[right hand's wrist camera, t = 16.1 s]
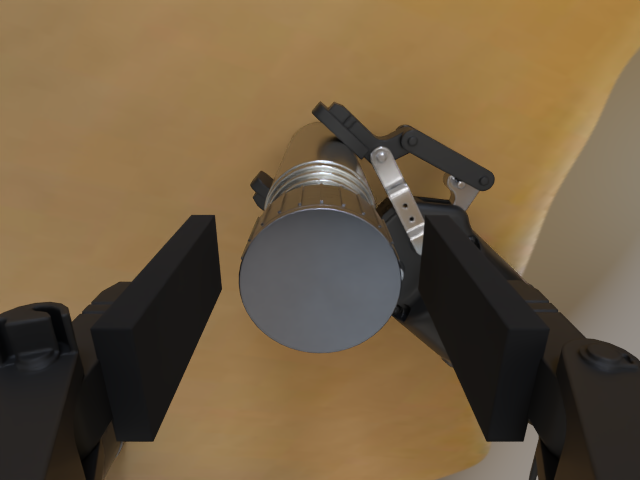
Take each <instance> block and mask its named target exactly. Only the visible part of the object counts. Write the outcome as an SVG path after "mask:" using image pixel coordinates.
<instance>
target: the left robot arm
mask: <svg viewBox="0 0 640 480" xmlns="http://www.w3.org/2000/svg"><path fill="white" fill-rule="evenodd" d="M312 113H313V115H314V116H315V117H316V118H317V119H318V120H319V121H321V122H322V123H323V124H324V125H325V126H326V127H327V128H328V129H329V130H330V131H331V132H332V133H333V134H334V135H335V136H337V137H338V138H339V139H340V140H341V141H342V142H343V143H344V144H345V145H346V146H348V147H349V148H350V149H351V150H352V151H353V152H354V153H355V154H356V155H357V156H358V157H359V158H360V159H361V160H362V158H363V157H364V158H366V159H367V160H368V161H369V162H370V163H371V164H372V166H373V168H374V170H375V172H376V174H377V176H378V178H379V180H380V182H381V184H382V186H383V188H384V190H385V192H386V194H387V196H388V198H389V199H388V198H386V199H385V200H384V201H383V202H382V203H381V204H380V205H379V206H378V207H377V209H376V212H377V213H378V215H379V216H380V218H381V220H382V219H383V220H384V222H385V224H386V226H387V229H388V231H389V233H390V236H391V238H392V240H393V243H394V244H393V245H394V248H395V250H396V252H397V255H398V257H399V259H400V262H399V264H400V268H401V276H402V282H401V292H400V297H399V300H398V303H397V306H396V308H395V310H394V312H393V314H392V316H393V317H394V318H395V319H396V320H397V321H399V322H400V323H401V324H402V325H403V326H405V327H406V328H407V329H408V330H410V331H411V332H412V333H413V334H414V335H416V336H417V337H418V338H419V339H420V340H422V341H423V342H424V343H425V344H426V345H428V346H429V347H430V348H431V349H432V350H434V351H435V352H436V353H437V354H438V355H440V356H441V358H442V359H443V361H445V362H446V363H447V364H448V365H449V366H450V367H453V366H452V363H451V361H450V359H449V357H448V355H447V352H446V350H445V348H444V346H443V343H442V341H441V339H440V337H439V335H438V332H437V330H436V328H435V326H434V323H433V321H432V319H431V317H430V315H429V312H428V310H427V308H426V306H425V303H424V301H423V299H422V297H421V295H420V292H419V290H418V285H419V274H420V264H421V253H422V243H423V233H424V222H425V215H449V216H450V217H451V218H452V220H453V221H454V222H455V223H456V224H457V225H458V226H459V227H460V229H461V230H462V231H463V232H464V233H465V234H466V235H467V236H468V237H469V239H470V240H471V241H472V242H473V243H474V244H475V245H476V246H477V248H478V249H479V250H480V251H481V252H482V253H483V254H484V255H485V257H486V258H487V259H488V260H489V261H490V262H491V263H492V264H493V265H494V267H495V268H496V269H497V270H498V271H499V272H500V273H501V274H502V276H503V277H504V278H505V279H506V280H521V281H523V282H524V283H526V284H528V285H530V284H529V283H527V282H526V281H525V280H524V279H523V278H522V277H521V276H520V275H519V274H518V273H517V272H515V271H514V269H513V268H512V267H511V266H509V265H508V264H507V263H506V262H505V261H504V260H503V259H502V258H501V257H500V256H499V255H498V254H497V253H496V252H495V251H494V250H493V249H492V248H491V247H490V246H489V245H488V244H487V243H486V242H485V241H484V240H483V239H482V238H480V237H479V236H478V235H477V234H476V233H475V232H474V231H473V230H472V228H471V226H470V223H469V218H468V215H467V213H466V212H465V211H466V210H467V209H468V207H469V206H470V204H471V203H472V201H473V200H474V198H475V197H476V195H477V194H478V192H479V191H486V190H488V189H490V188H491V187H492V185H493V184H494V180H495V178H494V175H493V173H492V172H490V171H489V170H487V169H485V168H483V167H482V166H480V165H478V164H477V163H475V162H473V161H471V160H470V159H468V158H466V157H464V156H463V155H461V154H459V153H457V152H455V151H454V150H452V149H450V148H448V147H447V146H445V145H443V144H441V143H439V142H438V141H436V140H434V139H432V138H431V137H429V136H427V135H425V134H423V133H422V132H420V131H418V130H416V129H415V128H413V127H411V126H409V125H401V126H399V127H398V128H397V129H396V131H394V132H392V133H390V134H388V135H386V136H383V137H378V136H375V135H373V134H372V133H371V132H370V131H369V130H368V129H367V128H366V127H365V126H364V125H363V124H362V123H361V122H360V121H358V120H357V119H356V118H355V117H354V116H353V115H352V114H351V113H350V112H349V111H348V110H347V109H346V108H345V107H344V106H343V105H341V104H338V103H336V102H333V104H332V105H331V106H330V107H329V108H327V107H326V106H325V105H324V104H323V103H322V102H321V101H320V102H319V103H318V105H317V106H316V107H315V108H314V109H313V110H312ZM408 153H411V154H413V155H415V156H417V157H419V158H421V159H422V160H424V161H426V162H428V163H430V164H431V165H433V166H435V167H437V168H439V169H441V170H442V171H444V172H446V173H445V174H444V177H443V182H444V184H445V186H447V187H448V188H449V189H450V191H451V197H450V199H449V200H444V199H435V198H426V197H417V196H412V194H411V191H410V189H409V187H408V185H407V183H406V182H405V180H404V178H403V176H402V174H401V172H400V170H399V168H398V166H397V164H396V161H395V160H396V159H398V158H400V157H402V156H404V155H406V154H408ZM272 183H273V179H272V178H271V177H270V176H269V175H268V174H266V173H265V172H263V171H260V172H259V174H258V175H257V176H256V177H255V178H254V179H253V181H252V183H251V184H250V186H251V188H252V189H253V190H254V191H255V192H256V193H255V195H254V196H253V199H254V201H255V202H256V204H257V206H258V207H260V208H261V209H262V210H263V211H264V206H265V201H266V198H267V195H268V192H269V190H270V188H271V185H272ZM530 286H532V285H530ZM532 287H533V286H532ZM528 423H530V424H531V425H532V423H531V421H530V420H528ZM101 440H102V444H103V448H104V454H105V457H104V465H103V473H102V480H104V478H105V476H106V474H107V473H108V471H109V469H110V467H111V465H112V463H113V461H114V459H115V458H116V457H117V455H118V454H119V452H120V450H121V448H122V446H123V444H124V442H117V441H116V437H115V433H114V429H113V424H112V420H111V422H110V424H109V425H108V427H107V429H106V430H105V432H104V434H103V435H102V437H101Z"/></svg>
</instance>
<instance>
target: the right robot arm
mask: <svg viewBox="0 0 640 480" xmlns="http://www.w3.org/2000/svg"><path fill="white" fill-rule="evenodd" d="M221 290H222V285H221V274H220V264H219V253H218V243H217V233H216V222H215V215H191V216H190V217H189V218H188V220H187V221H186V222H185V223H184V224H183V225H182V226H181V227H180V229H179V230H178V231H177V232H176V233H175V234H174V235H173V236H172V237H171V239H170V240H169V241H168V242H167V243H166V244H165V245H164V246H163V248H162V249H161V250H160V251H159V252H158V253H157V254H156V255H155V257H154V258H153V259H152V260H151V261H150V262H149V263H148V264H147V265H146V267H145V268H144V269H143V270H142V271H141V272H140V273H139V274H138V276H137V277H136V278H135V279H134V280H133V281H132V282H118V283H117V284H115V285H113V286H111V287H109V288H107V289H106V290H104V291H102V292H101V293H100V294H99V295H98V296H97V297H96V298H95V299H94V300H93V301H92V302H91V305H88V306H87V307H86V308H85V309H84V310H83V311H82V314H79V315H78V316H77V317H76V318H75V319H74V320H73V321H71V317H70V314H69V310H68V307H66V306H65V305H63V304H61V303H54V302H43V303H33V304H29V305H24V306H20V307H17V308H14V309H12V310H9V311H6V312H4V313H2V314H0V480H102V473H103V465H104V457H105V454H104V448H103V444H102V440H101V437H102V435H103V434H104V432H105V430H106V429H107V427H108V425H109V424H110V422H111V420H112V424H113V429H114V433H115V437H116V441H117V442H153V441H154V439H155V437H156V434H157V432H158V430H159V428H160V426H161V423H162V421H163V419H164V417H165V415H166V412H167V410H168V408H169V406H170V403H171V401H172V399H173V397H174V395H175V392H176V390H177V388H178V386H179V383H180V381H181V379H182V377H183V375H184V372H185V370H186V368H187V366H188V363H189V361H190V359H191V357H192V355H193V352H194V350H195V348H196V346H197V343H198V341H199V339H200V337H201V335H202V332H203V330H204V328H205V326H206V323H207V321H208V319H209V317H210V315H211V312H212V310H213V308H214V306H215V303H216V301H217V299H218V297H219V295H220V292H221ZM418 290H419V292H420V295H421V297H422V299H423V301H424V303H425V306H426V308H427V310H428V312H429V315H430V317H431V319H432V321H433V323H434V326H435V328H436V330H437V332H438V335H439V337H440V339H441V341H442V343H443V346H444V348H445V350H446V352H447V355H448V357H449V359H450V361H451V363H452V366H453V368H454V370H455V372H456V375H457V377H458V379H459V381H460V383H461V386H462V388H463V390H464V392H465V395H466V397H467V399H468V401H469V403H470V406H471V408H472V410H473V412H474V415H475V417H476V419H477V421H478V423H479V426H480V428H481V430H482V432H483V434H484V437H485V439H486V441H487V442H496V441H497V442H498V441H499V442H500V441H501V442H503V441H505V442H510V441H512V442H514V441H520V442H523V441H524V437H525V433H526V429H527V424H528V420H530V421H531V423H532V425H533V426H534V428H535V430H536V431H537V433H538V435H539V440H538V444H537V448H536V452H535V456H534V460H533V464H532V468H531V471H530V476H529V480H536V477H537V475H538V480H640V361H639V360H638V359H637V358H636V357H635V356H633V355H632V354H630V353H629V352H627V351H626V350H624V349H622V348H620V347H617V346H615V345H613V344H610V343H607V342H603V341H599V340H596V339H587V338H585V337H584V336H583V335H582V334H581V333H580V332H579V331H578V330H577V329H576V328H575V327H574V325H572V323H570V322H569V320H568V319H567V318H565V316H563V314H561V313H560V312H558V310H557V309H556V307H555V306H554V305H553V304H552V303H549V301H548V299H547V298H545V296H544V295H543V294H542V293H541V292H540V291H539V290H537V289H535V288H534V287H532V286H530V285H528V284H526V283H524V282H523V281H521V280H506V279H505V278H504V277H503V276H502V274H501V273H500V272H499V271H498V270H497V269H496V268H495V267H494V265H493V264H492V263H491V262H490V261H489V260H488V259H487V258H486V257H485V255H484V254H483V253H482V252H481V251H480V250H479V249H478V248H477V246H476V245H475V244H474V243H473V242H472V241H471V240H470V239H469V237H468V236H467V235H466V234H465V233H464V232H463V231H462V230H461V229H460V227H459V226H458V225H457V224H456V223H455V222H454V221H453V220H452V218H451V217H450V216H449V215H425V222H424V233H423V243H422V253H421V264H420V274H419V285H418Z"/></svg>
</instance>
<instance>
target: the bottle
mask: <svg viewBox="0 0 640 480" xmlns="http://www.w3.org/2000/svg"><path fill="white" fill-rule="evenodd" d="M320 183H323V184H324V185H333V186H338V187H339V186H342V188H344V189H347V190H350V191H352V192H354V193H356V194H357V193H358V194H360V197H362V198H363V199H365V200H366V201H367V202H368V203H369V204H370V205H373V206H374V208H375V210H376V204H375V200H374V197H373V194H372V192H371V189H370V187H369V185H368V182H367V180H366V178H365V175H364V173H363V171H362V168H361V166H360V164H359V161H358V159H357V157H356V154H355V153H354V152H353V151H352V150H351V149H350V148H349V147H348V146H346V145H345V144H344V143H343V142H342V141H341V140H340V139H339V138H338V137H337V136H335V135H334V134H333V133H332V132H331V131H330V130H329V129H328V128H327V127H326V126H325V125H324V124H323V123H322V122H316V123H311V124H308V125H306V126H304V127H302V128H301V129H299V130H298V131H297V132H296V133H295V134H294V136H293V137H292V139H291V141H290V143H289V145H288V148H287V150H286V152H285V155H284V157H283V159H282V162H281V164H280V166H279V169H278V171H277V173H276V176H275V178H274V180H273V183H272V185H271V188H270V190H269V192H268V195H267V198H266V201H265V206H264V211H265V210H266V208H267V206H268V204H269V203H272V202H273V201H275V200H276V199H277V198H278V197H280V196H282V195H283V193H284V192H286V193H287V192H289V191H291V190H293V189H296V188H299V187H301V186H302V185H303V186H308V185H317V184H320Z"/></svg>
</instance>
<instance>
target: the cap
mask: <svg viewBox="0 0 640 480" xmlns="http://www.w3.org/2000/svg"><path fill="white" fill-rule="evenodd" d="M393 244H394V243H393V240H392V238H391V236H390V233H389V231H388V229H387V226H386V224H385V222H384V220H383V219H382V220H381V218H380V216H379V215H378V213H377V212H376V210H375V208H374V206H373V205H370V204H369V203H368V202H367V201H366V200H365V199H363V198H362V197H360V194H358V193H357V194H356V193H354V192H352V191H350V190H347V189H344V188H342V186H339V187H338V186H333V185H324V184H323V183H320V184H317V185H308V186H303V185H302V186H301V187H299V188H296V189H293V190H291V191H289V192H287V193H286V192H284V193H283V195H282V196H280V197H278V198H277V199H276V200H275V201H273V202H272V203H269V204H268V206H267V208H266V210H265V211H264V212H263V214H262V215H261V217H258V218H257V221H256V223H255V225H254V228H253V230H252V232H251V235H250V237H249V239H248V243H247V245H246V247H245V250H244V252H243V254H242V257H241V259H242V262H241V265H240V271H239V289H240V295H241V299H242V302H243V304H244V307H245V309H246V311H247V313H248V315H249V316H250V318H251V319H252V321H253V322H254V323H255V324H256V326H257V327H258V328H259V329H260V330H261V331H262V332H264V333H265V334H266V335H267V336H269V337H270V338H271V339H273V340H275V341H276V342H278V343H280V344H282V345H284V346H287V347H289V348H292V349H295V350H299V351H304V352H310V353H330V352H337V351H341V350H345V349H349V348H351V347H354V346H356V345H359V344H360V343H362V342H364V341H366V340H367V339H369V338H370V337H372V336H373V335H375V334H376V333H377V332H378V331H379V330H380V329H381V328H382V327H383V326H384V325H385V324H386V322H387V321H388V320H389V318H390V317H391V315H392V314H393V312H394V310H395V308H396V306H397V303H398V300H399V297H400V292H401V282H402V276H401V268H400V264H399V262H400V259H399V257H398V255H397V252H396V250H395V248H394V245H393Z"/></svg>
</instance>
